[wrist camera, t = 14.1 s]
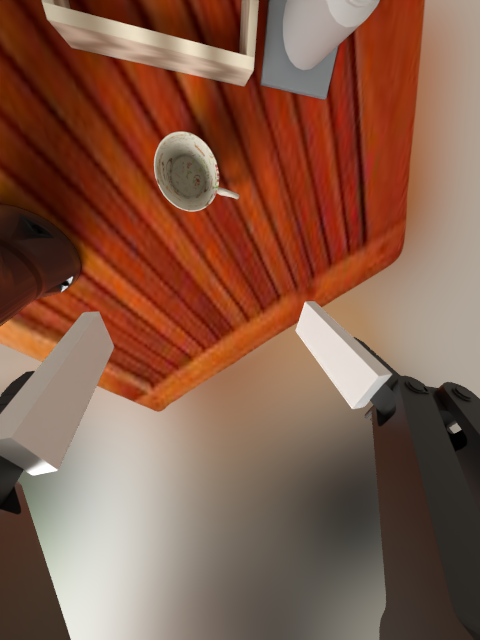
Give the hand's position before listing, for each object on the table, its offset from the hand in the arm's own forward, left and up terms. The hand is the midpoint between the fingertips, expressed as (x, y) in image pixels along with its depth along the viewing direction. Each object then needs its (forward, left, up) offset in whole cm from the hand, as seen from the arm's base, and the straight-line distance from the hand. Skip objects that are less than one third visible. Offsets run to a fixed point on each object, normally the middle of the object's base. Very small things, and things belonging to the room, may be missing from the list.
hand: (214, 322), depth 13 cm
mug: (+1, +8, -32) cm, 33 cm away
